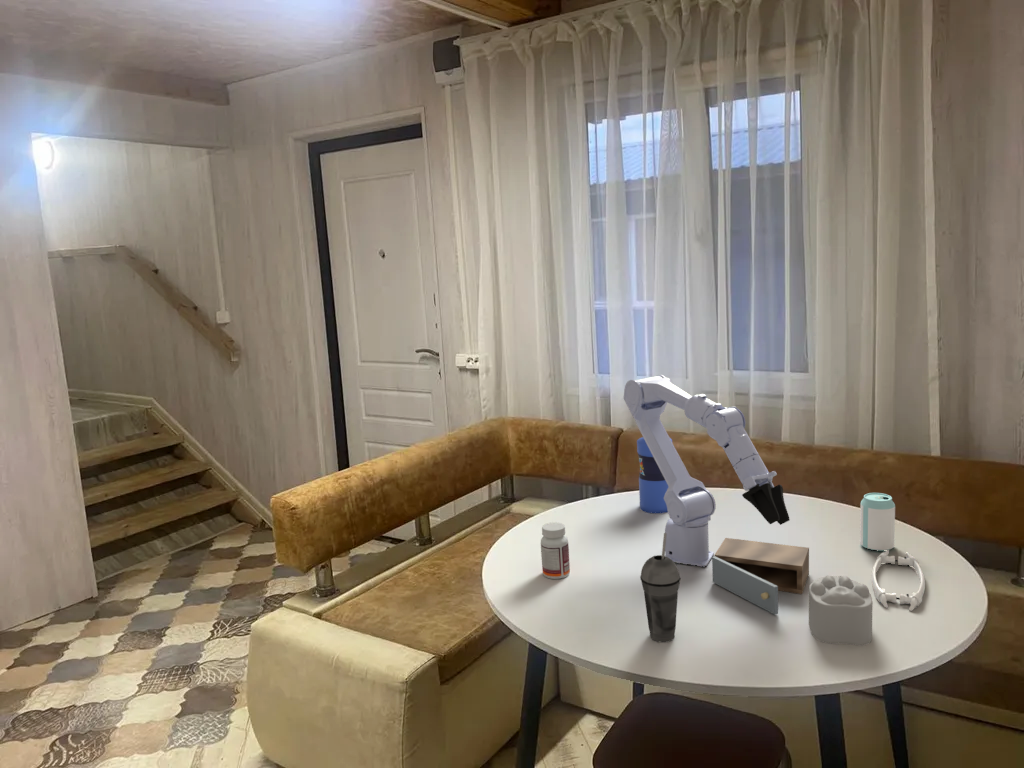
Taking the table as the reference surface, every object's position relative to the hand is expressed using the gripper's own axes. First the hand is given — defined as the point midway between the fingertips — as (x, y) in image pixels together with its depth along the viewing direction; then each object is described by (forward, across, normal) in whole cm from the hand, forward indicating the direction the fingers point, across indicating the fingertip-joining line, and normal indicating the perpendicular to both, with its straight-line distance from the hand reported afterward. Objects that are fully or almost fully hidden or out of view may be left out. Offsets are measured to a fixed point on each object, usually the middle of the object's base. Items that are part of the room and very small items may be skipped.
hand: (780, 522), depth 152 cm
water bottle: (-23, +43, +37) cm, 61 cm away
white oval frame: (+19, +22, -10) cm, 31 cm away
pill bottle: (-11, -3, +49) cm, 50 cm away
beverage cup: (+11, -17, +26) cm, 33 cm away
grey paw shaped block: (+22, 0, 0) cm, 22 cm away
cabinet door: (+9, +2, +15) cm, 18 cm away
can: (+10, +38, -8) cm, 40 cm away
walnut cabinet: (+7, +13, +12) cm, 19 cm away
